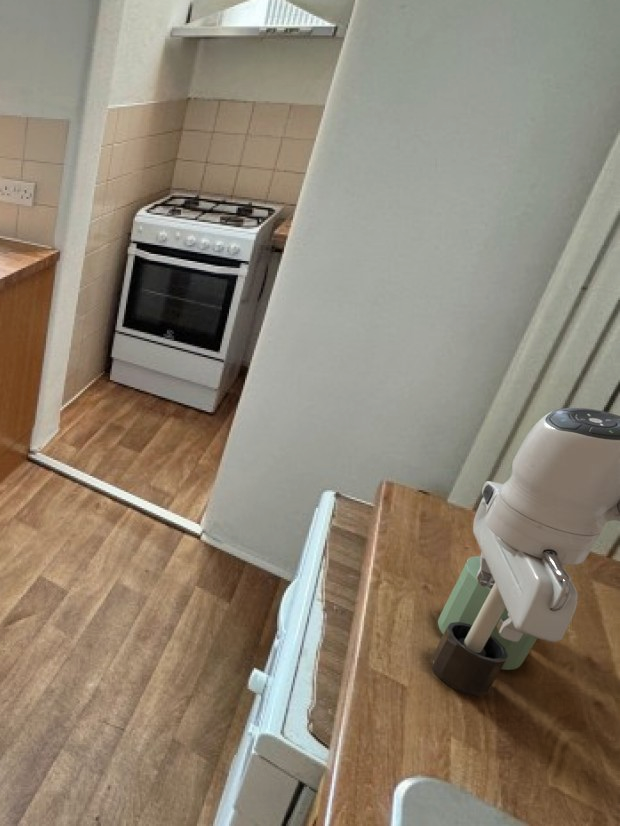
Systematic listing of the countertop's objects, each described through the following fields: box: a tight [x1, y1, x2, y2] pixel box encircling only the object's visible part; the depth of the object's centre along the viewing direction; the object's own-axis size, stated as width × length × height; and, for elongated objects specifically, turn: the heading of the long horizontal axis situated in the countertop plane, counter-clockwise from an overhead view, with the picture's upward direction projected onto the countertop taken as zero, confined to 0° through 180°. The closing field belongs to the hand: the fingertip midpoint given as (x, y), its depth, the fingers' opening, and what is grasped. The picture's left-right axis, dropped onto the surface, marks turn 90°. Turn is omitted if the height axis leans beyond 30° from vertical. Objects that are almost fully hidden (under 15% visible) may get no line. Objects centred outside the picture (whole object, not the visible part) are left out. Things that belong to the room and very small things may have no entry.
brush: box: [458, 583, 506, 657], centre depth 81 cm, size 3×3×17 cm
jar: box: [437, 555, 538, 671], centre depth 88 cm, size 9×9×12 cm
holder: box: [430, 622, 508, 698], centre depth 83 cm, size 6×6×7 cm
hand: (495, 608), depth 80 cm, fingers open, 8 cm apart
